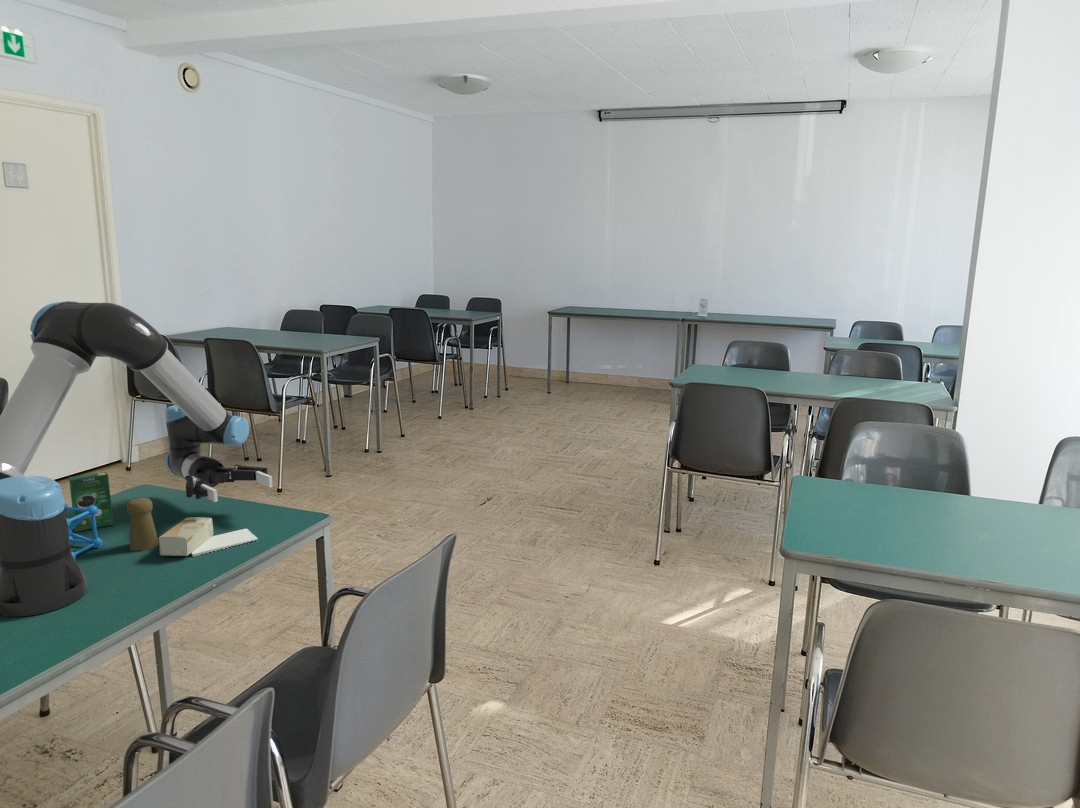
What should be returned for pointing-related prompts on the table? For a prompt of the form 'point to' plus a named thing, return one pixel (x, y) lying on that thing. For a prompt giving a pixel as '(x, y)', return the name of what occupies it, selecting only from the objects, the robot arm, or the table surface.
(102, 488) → the coffee box
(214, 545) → the mat
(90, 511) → the molecular structure
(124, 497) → the table surface
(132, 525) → the cork
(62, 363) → the robot arm
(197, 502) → the table surface
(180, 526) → the skincare box
